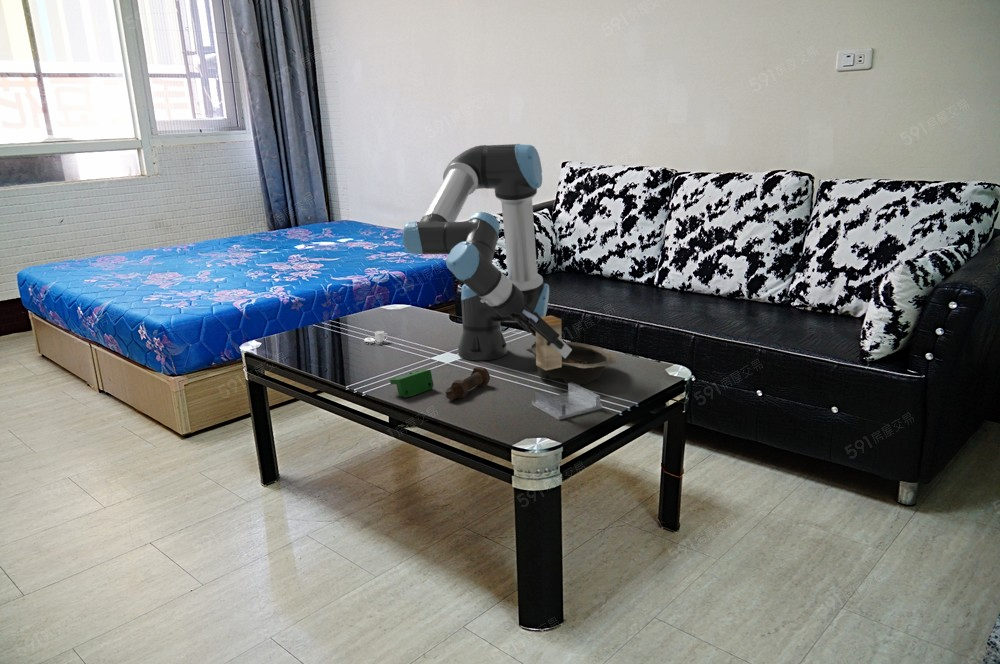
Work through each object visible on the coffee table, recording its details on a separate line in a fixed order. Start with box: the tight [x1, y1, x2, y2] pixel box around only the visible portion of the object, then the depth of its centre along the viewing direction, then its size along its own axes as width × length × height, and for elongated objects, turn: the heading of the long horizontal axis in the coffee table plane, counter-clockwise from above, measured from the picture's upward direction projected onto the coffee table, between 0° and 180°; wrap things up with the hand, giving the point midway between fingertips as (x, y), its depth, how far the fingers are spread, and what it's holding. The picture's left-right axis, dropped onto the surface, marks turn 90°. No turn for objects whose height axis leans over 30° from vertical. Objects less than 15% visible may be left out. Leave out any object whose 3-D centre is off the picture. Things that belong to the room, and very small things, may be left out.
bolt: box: [444, 366, 491, 401], centre depth 200 cm, size 6×5×15 cm
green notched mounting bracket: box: [389, 369, 434, 398], centre depth 202 cm, size 11×6×8 cm, turn 128°
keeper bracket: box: [531, 382, 603, 421], centre depth 188 cm, size 12×13×4 cm
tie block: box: [535, 315, 563, 370], centre depth 181 cm, size 4×4×12 cm
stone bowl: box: [525, 341, 618, 386], centre depth 209 cm, size 25×25×9 cm
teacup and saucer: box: [363, 330, 388, 343], centre depth 248 cm, size 9×8×4 cm
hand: (561, 350), depth 184 cm, fingers closed on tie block, 4 cm apart
